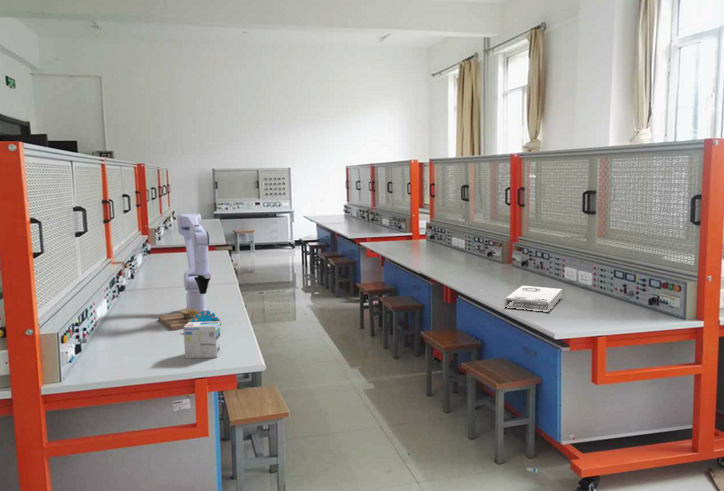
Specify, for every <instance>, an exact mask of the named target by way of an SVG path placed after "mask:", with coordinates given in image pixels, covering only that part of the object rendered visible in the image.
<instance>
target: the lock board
mask: <svg viewBox="0 0 724 491" xmlns="http://www.w3.org/2000/svg"><path fill="white" fill-rule="evenodd" d="M201 311H204V310H200V311H197V314H198V315H199V317H198V318H200V317H201V313H200V312H201ZM206 313H207V311H204V315H205V314H206ZM211 314H212V313H210V314H209V315H211ZM204 315H203V316H204ZM209 315H207V316H209ZM215 317H216V315H215V316H214V317H213V316H212V317H211V318H215ZM157 318H158V321H159V322H160V323H162V324H163V325H164V326H165V327H167V328H168V329H170V330H171V331H176V330H184V326H185V325H186V324H187V323H189V322H192V319H195V321H198V319H197V318H196V317H195V316H194V317H191V316H190V315H184V314H181V312H180V313H176V314H175V313H174V314H167V315H161V316H158V317H157ZM218 321H220V318H219V317H218ZM213 322H217V321H215V320H213ZM220 322H221V321H220Z"/></svg>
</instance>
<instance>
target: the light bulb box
mask: <svg viewBox="0 0 724 491" xmlns="http://www.w3.org/2000/svg"><path fill="white" fill-rule="evenodd" d="M220 323H221V321H217V322H189V323H187V324H186V325H185V326H184V329H183V341H184V343H183V344H184V358H185V359H199V358H200V359H203V358H204V359H205V358H206V359H207V358H209V359H210V358H211V359H212V358H213V359H214V358H218V357H219V355H220V354H221V352H222V339H221V326H220Z"/></svg>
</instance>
